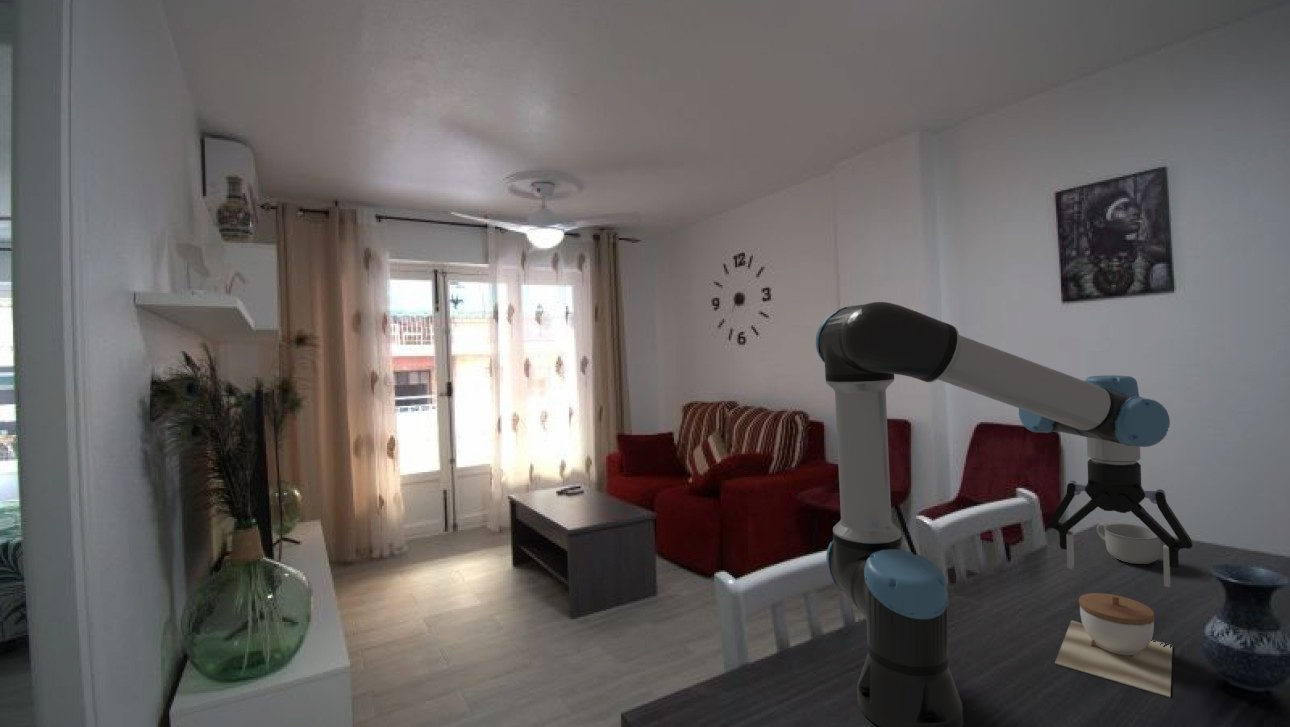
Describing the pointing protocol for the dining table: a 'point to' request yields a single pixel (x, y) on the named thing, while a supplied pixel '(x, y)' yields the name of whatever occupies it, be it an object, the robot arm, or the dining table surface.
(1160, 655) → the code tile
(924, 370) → the robot arm
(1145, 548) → the teacup
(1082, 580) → the dining table surface
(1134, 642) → the lidded jar
